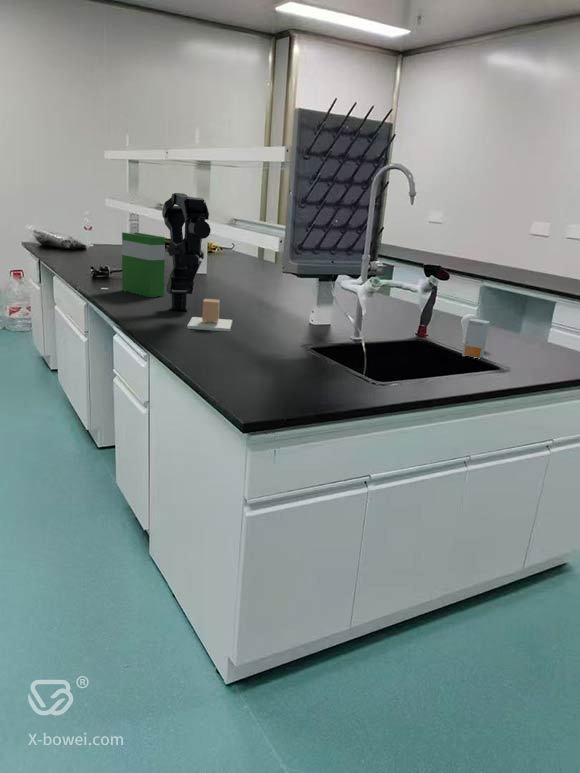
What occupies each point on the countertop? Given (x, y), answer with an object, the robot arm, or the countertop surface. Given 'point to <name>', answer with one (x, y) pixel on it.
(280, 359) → the countertop surface
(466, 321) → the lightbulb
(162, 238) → the hardback book
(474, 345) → the skincare box
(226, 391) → the countertop surface
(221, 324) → the post stand
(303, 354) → the countertop surface
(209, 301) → the tan wooden brick
